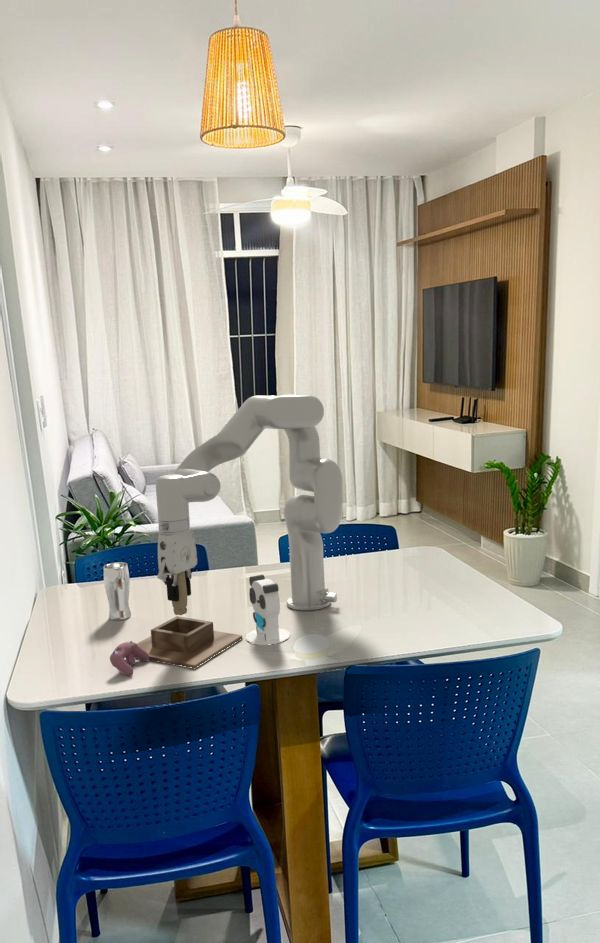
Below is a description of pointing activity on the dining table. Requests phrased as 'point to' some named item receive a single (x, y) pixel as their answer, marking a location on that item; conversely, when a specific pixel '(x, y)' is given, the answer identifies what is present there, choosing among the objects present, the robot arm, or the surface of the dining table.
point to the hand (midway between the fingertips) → (179, 596)
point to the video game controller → (127, 657)
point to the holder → (186, 642)
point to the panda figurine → (265, 612)
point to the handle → (181, 594)
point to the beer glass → (117, 590)
